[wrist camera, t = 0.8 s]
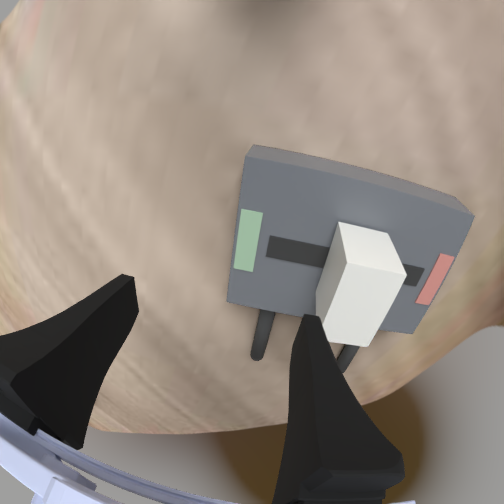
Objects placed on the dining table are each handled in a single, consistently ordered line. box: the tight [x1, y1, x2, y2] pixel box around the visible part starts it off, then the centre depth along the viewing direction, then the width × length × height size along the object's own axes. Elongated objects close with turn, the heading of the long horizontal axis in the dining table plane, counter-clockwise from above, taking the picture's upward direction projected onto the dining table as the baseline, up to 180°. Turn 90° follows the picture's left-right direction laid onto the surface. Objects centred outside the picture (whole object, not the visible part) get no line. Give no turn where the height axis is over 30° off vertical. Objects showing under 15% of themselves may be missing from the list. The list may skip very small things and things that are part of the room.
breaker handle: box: [316, 222, 407, 347], centre depth 15 cm, size 3×5×4 cm, turn 172°
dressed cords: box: [251, 309, 360, 373], centre depth 24 cm, size 9×9×1 cm
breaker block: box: [227, 145, 475, 334], centre depth 19 cm, size 14×10×3 cm
